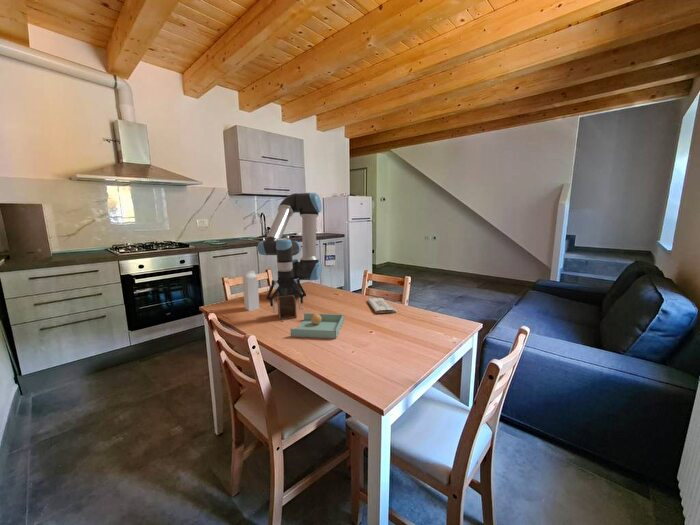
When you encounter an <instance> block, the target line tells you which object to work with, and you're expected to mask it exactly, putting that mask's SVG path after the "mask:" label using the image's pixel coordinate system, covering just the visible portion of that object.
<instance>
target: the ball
mask: <svg viewBox="0 0 700 525" xmlns="http://www.w3.org/2000/svg"><path fill="white" fill-rule="evenodd" d="M319 314H320V313H314V315H312V317H311V322H312V323H313V324H319V323H320V322H321V316H320V315H319Z"/></svg>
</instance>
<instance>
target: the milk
mask: <svg viewBox="0 0 700 525" xmlns="http://www.w3.org/2000/svg"><path fill="white" fill-rule="evenodd" d="M258 280H259V279H258V275H257V274H256V273H255V269H253V270H247V271H244V273H243V275H242V289H243V300H244V301H243V302H244V309H245V310H246V311H249V312H251V311H256V310H260V296H259V283H258V282H259V281H258Z"/></svg>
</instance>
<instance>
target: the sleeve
mask: <svg viewBox="0 0 700 525" xmlns="http://www.w3.org/2000/svg"><path fill="white" fill-rule="evenodd" d="M276 298H277V299H276V300H277V313H278V314H277V315H278V319H279V321H283V320H284V321H285V320H294V319H298V317H297V316H298V315H297V313H298V312H297V299H296V297H294V295H290V296H277V297H276ZM287 314H290V315H291V314H294V316H293V315H291V316H284V317H283V316H282V317H281V315H287Z"/></svg>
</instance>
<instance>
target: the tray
mask: <svg viewBox="0 0 700 525" xmlns="http://www.w3.org/2000/svg"><path fill="white" fill-rule="evenodd" d="M314 314H315V313H314V312H313V313H310V312H308V313H307V312H304V313H303V321H302V322H301V323H300V324H299V325H298V327H297V328H290V331H289V332H290V337H291V338H311V339H312V338H314V339H331V340H332V339H334V340H336V339H337V338H338V335H339V333H340V331H341V329H342V327H343V324H344V322H345V320H344V318H345V317H344V316H345V315H344V314H337V313H318V314H319V315H320V316H321V322H320V323H319V324H313V323H312V322H311V317H312V315H314Z"/></svg>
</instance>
